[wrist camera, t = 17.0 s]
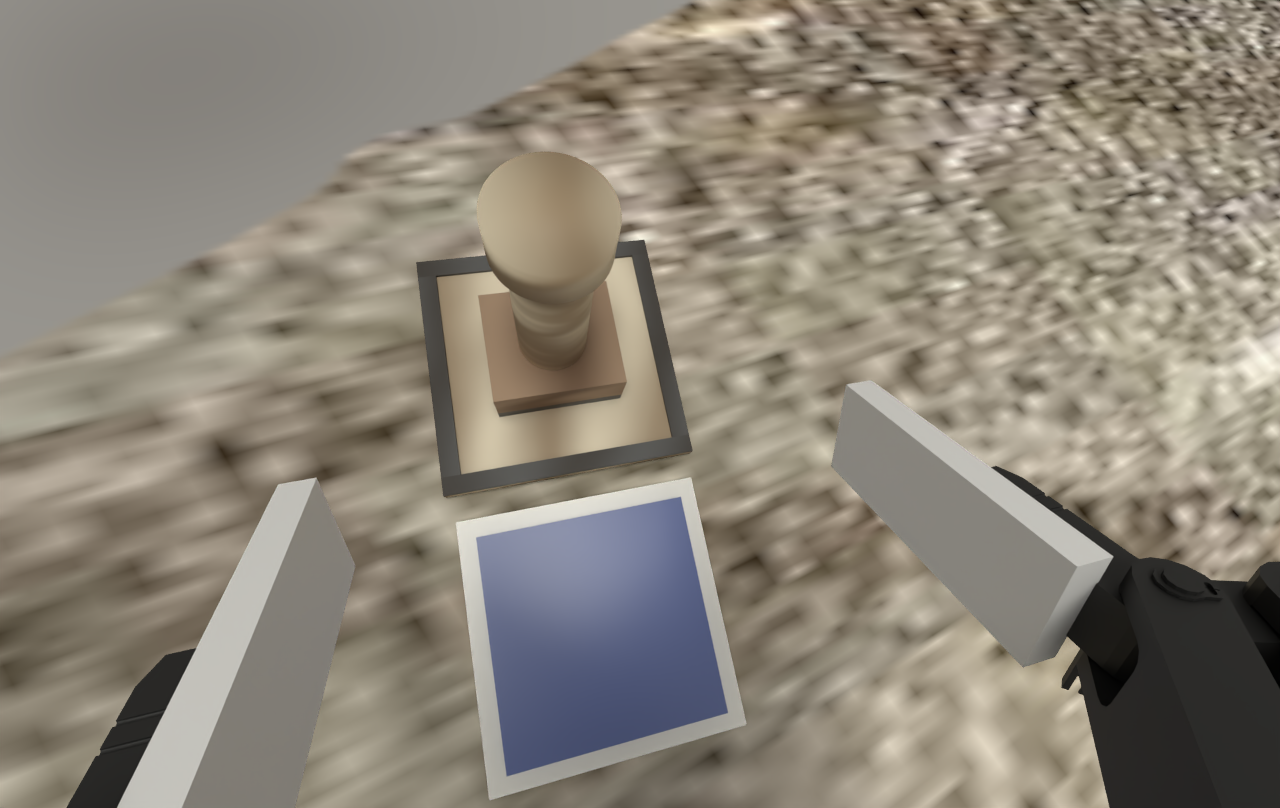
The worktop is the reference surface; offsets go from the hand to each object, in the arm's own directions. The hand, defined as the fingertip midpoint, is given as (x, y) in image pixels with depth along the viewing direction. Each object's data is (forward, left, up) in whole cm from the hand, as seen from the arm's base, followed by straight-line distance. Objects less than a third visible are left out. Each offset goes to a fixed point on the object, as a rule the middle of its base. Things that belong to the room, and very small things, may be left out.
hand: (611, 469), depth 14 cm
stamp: (0, +9, -17) cm, 19 cm away
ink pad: (0, -6, -17) cm, 18 cm away
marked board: (0, +9, -17) cm, 20 cm away
